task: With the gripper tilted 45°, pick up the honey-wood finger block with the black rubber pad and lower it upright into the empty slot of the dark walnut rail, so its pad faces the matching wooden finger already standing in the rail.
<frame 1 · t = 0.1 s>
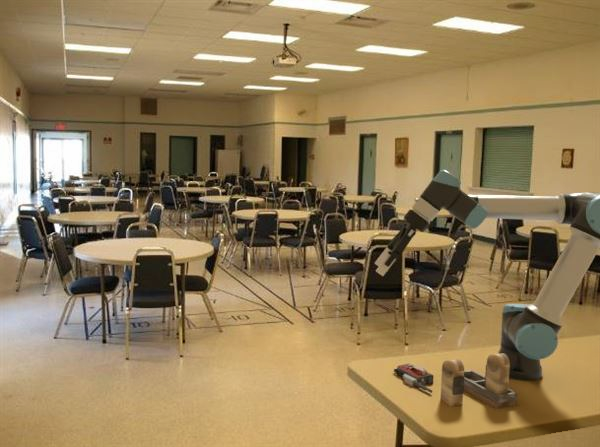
hand: (378, 269, 190), 36 cm above the table, tool tilted 35°, fingers open, 13 cm apart
finger block: (451, 401, 177), on the table
walkie-talkie: (418, 383, 193), on the table
rail: (483, 393, 184), on the table
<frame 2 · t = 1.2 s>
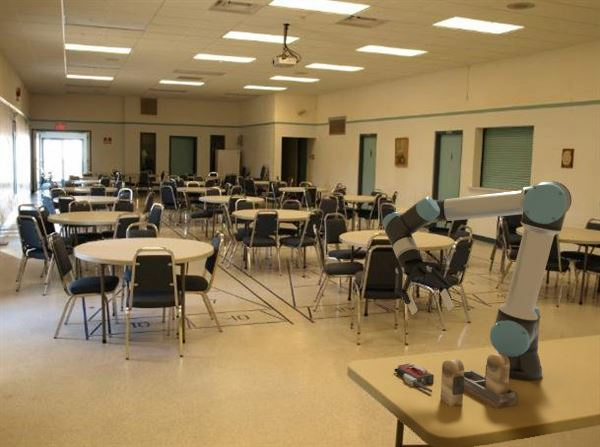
hand: (433, 310, 188), 24 cm above the table, tool tilted 45°, fingers open, 13 cm apart
nothing on the table moved.
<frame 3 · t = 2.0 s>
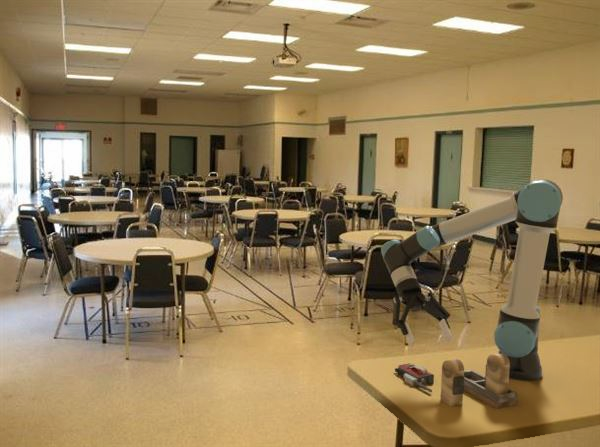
hand: (431, 341, 186), 15 cm above the table, tool tilted 45°, fingers open, 13 cm apart
nothing on the table moved.
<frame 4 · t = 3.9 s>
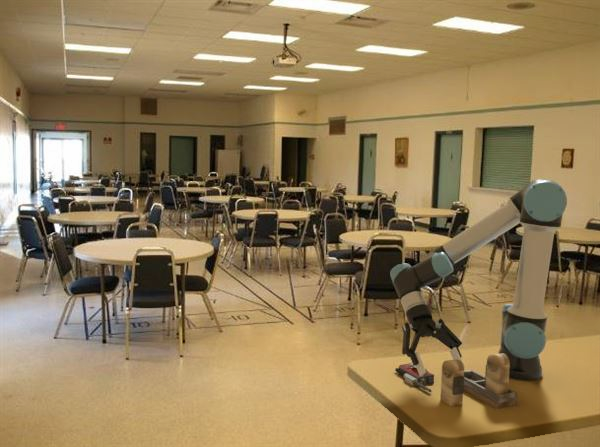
hand: (442, 371, 179), 8 cm above the table, tool tilted 45°, fingers open, 13 cm apart
nothing on the table moved.
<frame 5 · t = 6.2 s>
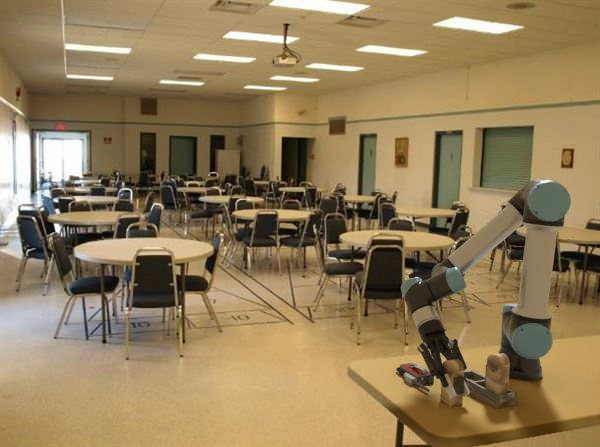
hand: (460, 395, 174), 3 cm above the table, tool tilted 45°, fingers closed on finger block, 4 cm apart
finger block: (451, 401, 177), on the table, touching gripper
everything else where it was.
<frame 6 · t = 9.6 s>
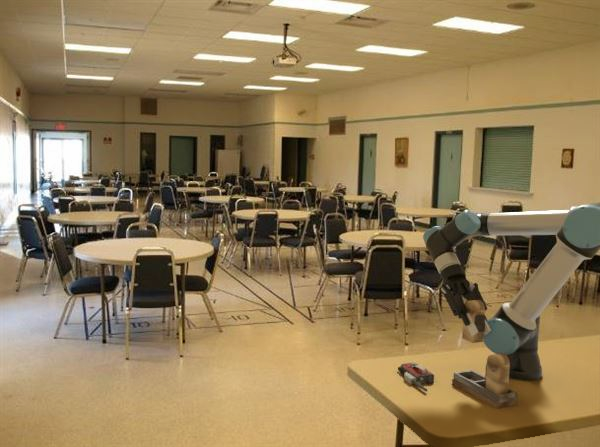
hand: (481, 333, 184), 18 cm above the table, tool tilted 45°, fingers closed on finger block, 4 cm apart
finger block: (472, 340, 188), point 15 cm above the table, touching gripper
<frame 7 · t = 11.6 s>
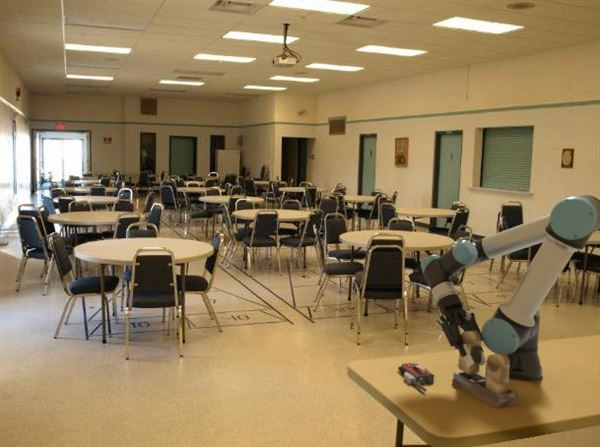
hand: (477, 364, 185), 8 cm above the table, tool tilted 45°, fingers closed on finger block, 4 cm apart
finger block: (468, 370, 189), point 5 cm above the table, touching gripper
when the fingers open (6 cm above the table, at t = 12.6 s): finger block stays where it is, resting on rail.
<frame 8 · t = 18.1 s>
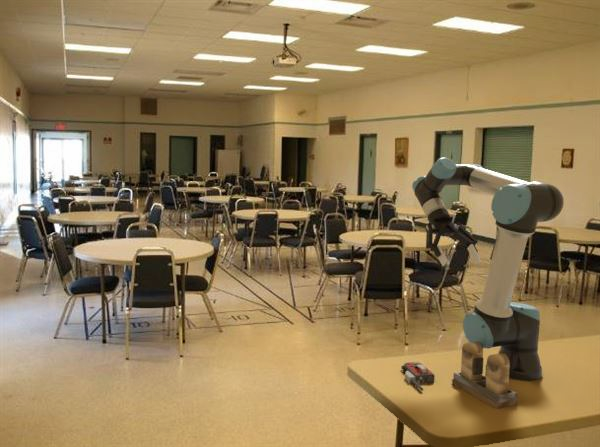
hand: (461, 262, 204), 36 cm above the table, tool tilted 45°, fingers open, 13 cm apart
finger block: (470, 381, 189), point 1 cm above the table, touching rail
at the end: finger block 0.1 cm from the target spot on the rail, point 1.5 cm above the rail's base; finger block tilted 0°; the gripper is holding nothing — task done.
